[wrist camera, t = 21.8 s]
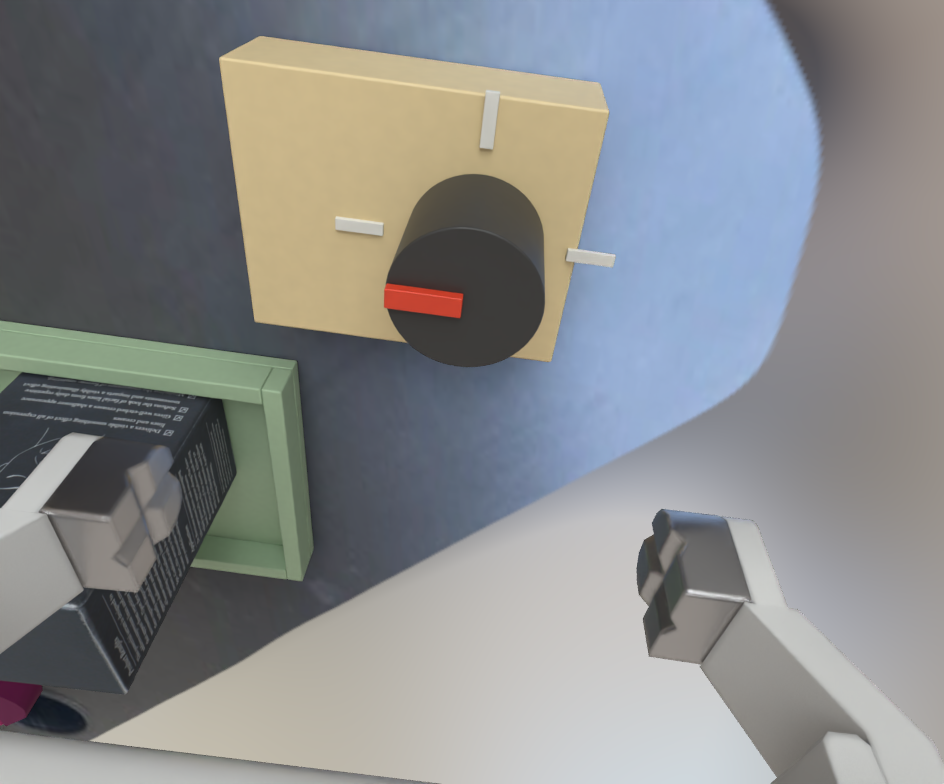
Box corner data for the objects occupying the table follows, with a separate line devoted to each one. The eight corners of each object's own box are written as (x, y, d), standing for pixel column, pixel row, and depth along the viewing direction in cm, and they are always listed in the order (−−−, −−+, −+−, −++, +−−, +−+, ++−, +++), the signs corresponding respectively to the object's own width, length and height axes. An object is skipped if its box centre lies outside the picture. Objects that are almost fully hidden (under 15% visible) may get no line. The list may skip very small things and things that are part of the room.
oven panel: (639, 83, 18) (655, 114, 16) (578, 321, 23) (583, 373, 21) (258, 31, 18) (214, 53, 15) (282, 281, 23) (252, 328, 21)
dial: (556, 183, 17) (560, 245, 14) (531, 309, 19) (530, 384, 16) (410, 163, 17) (383, 221, 14) (404, 291, 19) (381, 363, 16)
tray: (297, 360, 25) (281, 392, 24) (314, 548, 33) (302, 582, 32) (-59, 312, 25) (-100, 341, 24) (43, 512, 33) (17, 544, 32)
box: (75, 452, 29) (-105, 673, 21) (34, 355, 26) (-204, 575, 17) (242, 474, 29) (126, 703, 21) (223, 379, 26) (75, 611, 17)
